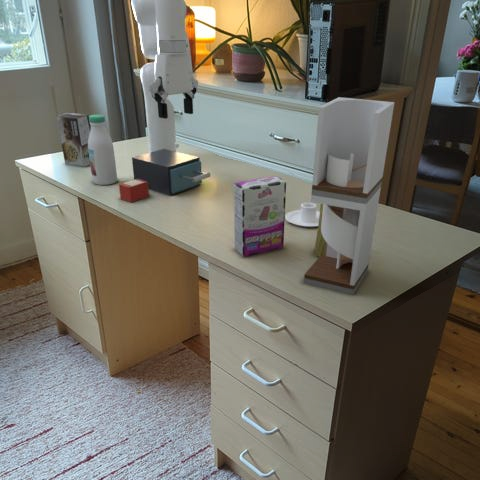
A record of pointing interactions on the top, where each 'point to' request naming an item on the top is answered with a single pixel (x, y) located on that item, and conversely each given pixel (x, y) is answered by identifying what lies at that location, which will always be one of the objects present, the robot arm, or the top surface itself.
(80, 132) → the printed cardboard box
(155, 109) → the robot arm
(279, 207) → the candy bar box
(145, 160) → the cabinet
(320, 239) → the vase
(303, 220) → the candle holder
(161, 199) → the top surface
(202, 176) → the drawer
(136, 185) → the package
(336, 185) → the tall two-tier shelf
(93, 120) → the milk bottle
